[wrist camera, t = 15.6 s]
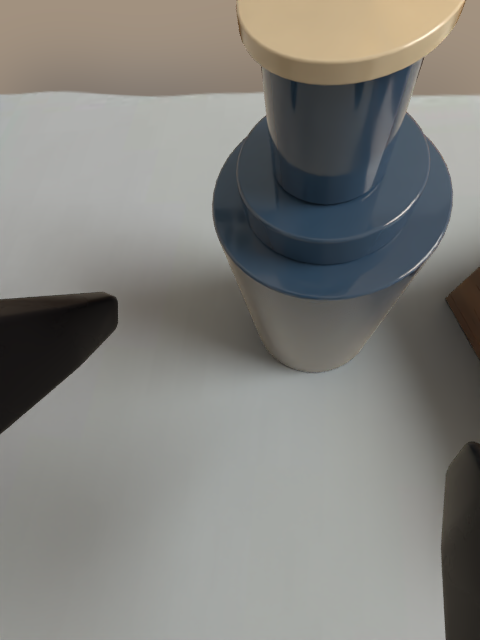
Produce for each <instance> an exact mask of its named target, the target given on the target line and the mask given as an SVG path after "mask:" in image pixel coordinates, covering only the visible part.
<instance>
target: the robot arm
mask: <svg viewBox="0 0 480 640" xmlns="http://www.w3.org/2000/svg"><path fill="white" fill-rule="evenodd" d="M117 324H118V301H117V299H116V297H114V296H112V295H110V294H107V293H105V292H94V293H80V294H67V295H53V296H39V297H26V298H12V299H0V434H1V433H2V432H3V431H5V430H6V429H7V428H8V427H9V426H11V425H12V424H13V423H14V422H15V421H16V420H18V419H19V418H20V417H21V416H22V415H23V414H25V413H26V412H27V411H28V410H29V409H31V408H32V407H33V406H34V405H35V404H36V403H38V402H39V401H40V400H41V399H42V398H43V397H45V396H46V395H47V394H48V393H49V392H51V391H52V390H53V389H54V388H55V387H56V386H58V385H59V384H60V383H61V382H62V381H63V380H65V379H66V378H67V377H68V376H69V375H70V374H72V373H73V372H74V371H75V370H76V369H77V368H78V367H79V366H80V365H81V364H83V363H84V362H85V361H86V359H87V358H88V357H89V356H90V355H91V354H92V353H93V352H94V351H95V350H96V349H97V348H98V347H99V346H100V345H101V344H102V343H103V342H104V341H105V340H106V339H107V338H108V337H109V336H110V335H111V334H112V333H113V332H114V330H115V329H116V327H117ZM441 557H442V578H443V597H444V616H445V635H446V640H480V444H479V443H476V442H473V441H472V442H468V443H467V444H466V445H465V446H464V447H463V448H462V450H461V451H460V452H459V454H458V455H457V456H456V458H455V459H454V460H453V461H452V463H451V464H450V466H449V467H448V470H447V473H446V481H445V496H444V510H443V524H442V540H441Z"/></svg>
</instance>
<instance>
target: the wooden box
mask: <svg viewBox="0 0 480 640" xmlns="http://www.w3.org/2000/svg"><path fill="white" fill-rule="evenodd" d="M445 299H446V301H447V302H448V304H449V306H450V308H451V310H452V311H453V313H454V315H455V317H456V319H457V320H458V322H459V324H460V326H461V328H462V329H463V331H464V333H465V335H466V337H467V338H468V340H469V342H470V344H471V346H472V347H473V349H474V351H475V353H476V355H477V356H478V358H479V360H480V267H478V268H477V269H476V270H475V271H474V272H473V273H472V274H471V275H470V276H469V277H468V278H467V279H465V280H464V281H463V282H462V283H461V284H460V285H459V286H458V287H457V288H456V289H455V290H453V291H452V292H451V293H450V294H449V295H448V296H447V297H446V298H445Z"/></svg>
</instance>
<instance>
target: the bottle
mask: <svg viewBox="0 0 480 640" xmlns="http://www.w3.org/2000/svg"><path fill="white" fill-rule="evenodd" d="M465 1H466V0H237V4H236V9H237V18H238V25H239V32H240V36H241V39H242V42H243V44H244V46H245V48H246V50H247V52H248V53H249V54H250V55H251V57H252V58H253V59H254V60H255V61H256V62H257V63H258V64H259V65H261V68H262V78H263V88H264V98H265V107H266V116H265V117H264V118H262V119H261V120H260V121H259V122H258V123H257V124H256V125H255V127H254V128H253V129H252V130H251V132H250V133H249V134H248V136H247V137H246V138H245V139H244V140H243V141H242V142H241V143H240V144H239V145H238V146H237V147H236V148H235V149H234V150H233V152H232V153H231V154H230V156H229V157H228V158H227V160H226V162H225V164H224V165H223V167H222V169H221V171H220V174H219V176H218V179H217V181H216V185H215V189H214V193H213V202H212V212H213V221H214V226H215V230H216V233H217V236H218V239H219V241H220V244H221V246H222V248H223V251H224V253H225V255H226V258H227V260H228V263H229V265H230V267H231V270H232V272H233V274H234V277H235V279H236V282H237V284H238V286H239V289H240V291H241V293H242V296H243V298H244V301H245V303H246V305H247V308H248V310H249V312H250V315H251V317H252V320H253V322H254V324H255V327H256V329H257V331H258V334H259V336H260V339H261V341H262V343H263V344H264V346H265V348H266V349H267V350H268V352H269V353H270V354H271V355H272V356H273V357H274V358H275V359H277V360H278V361H279V362H281V363H282V364H284V365H286V366H288V367H290V368H292V369H295V370H299V371H304V372H315V373H316V372H325V371H329V370H333V369H336V368H338V367H340V366H342V365H344V364H346V363H347V362H349V361H350V360H351V359H353V358H354V357H355V356H356V355H357V354H358V352H359V351H360V350H361V349H362V347H363V346H364V345H365V343H366V342H367V341H368V339H369V338H370V337H371V335H372V334H373V333H374V331H375V330H376V329H377V327H378V326H379V325H380V323H381V322H382V321H383V319H384V318H385V316H386V315H387V314H388V312H389V311H390V310H391V308H392V307H393V306H394V304H395V303H396V302H397V300H398V299H399V298H400V296H401V295H402V294H403V292H404V291H405V290H406V288H407V287H408V286H409V284H410V283H411V282H412V280H413V279H414V278H415V276H416V275H417V273H418V272H419V271H420V269H421V268H422V267H423V265H424V264H425V263H426V261H427V260H428V259H429V257H430V256H431V255H432V253H433V252H434V251H435V249H436V248H437V246H438V245H439V243H440V241H441V239H442V238H443V236H444V234H445V232H446V229H447V226H448V224H449V221H450V217H451V211H452V205H453V190H452V183H451V177H450V174H449V171H448V168H447V165H446V163H445V161H444V159H443V157H442V156H441V154H440V152H439V151H438V149H437V148H436V147H435V145H434V144H433V143H432V142H431V141H430V140H429V139H428V138H427V137H426V136H425V135H424V134H423V132H422V130H421V128H420V127H419V125H418V124H417V122H416V121H415V120H414V119H413V118H412V117H411V116H410V115H409V114H408V113H407V112H406V111H407V108H408V105H409V102H410V99H411V96H412V93H413V90H414V86H415V84H416V80H417V78H418V74H419V71H420V69H421V66H422V62H423V60H424V57H425V56H426V55H428V54H429V53H430V52H431V51H433V50H434V49H435V48H436V47H437V46H438V45H440V43H441V42H442V41H443V40H444V39H445V38H446V37H447V36H448V35H449V33H450V32H451V30H452V29H453V27H454V26H455V24H456V23H457V21H458V19H459V16H460V14H461V12H462V9H463V7H464V4H465Z"/></svg>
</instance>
